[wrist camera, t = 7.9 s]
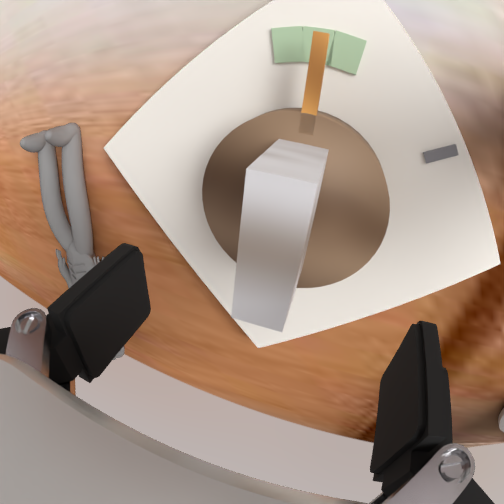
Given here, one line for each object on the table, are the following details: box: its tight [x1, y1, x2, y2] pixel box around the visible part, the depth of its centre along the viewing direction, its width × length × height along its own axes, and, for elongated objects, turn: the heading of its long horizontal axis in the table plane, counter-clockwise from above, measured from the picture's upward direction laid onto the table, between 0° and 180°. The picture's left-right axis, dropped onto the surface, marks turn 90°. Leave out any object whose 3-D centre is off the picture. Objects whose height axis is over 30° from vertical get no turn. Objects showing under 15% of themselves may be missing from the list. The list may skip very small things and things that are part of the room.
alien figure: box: [20, 123, 124, 360], centre depth 27 cm, size 8×5×25 cm
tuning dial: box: [202, 31, 390, 332], centre depth 14 cm, size 14×10×7 cm
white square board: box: [104, 0, 500, 348], centre depth 19 cm, size 20×20×2 cm
